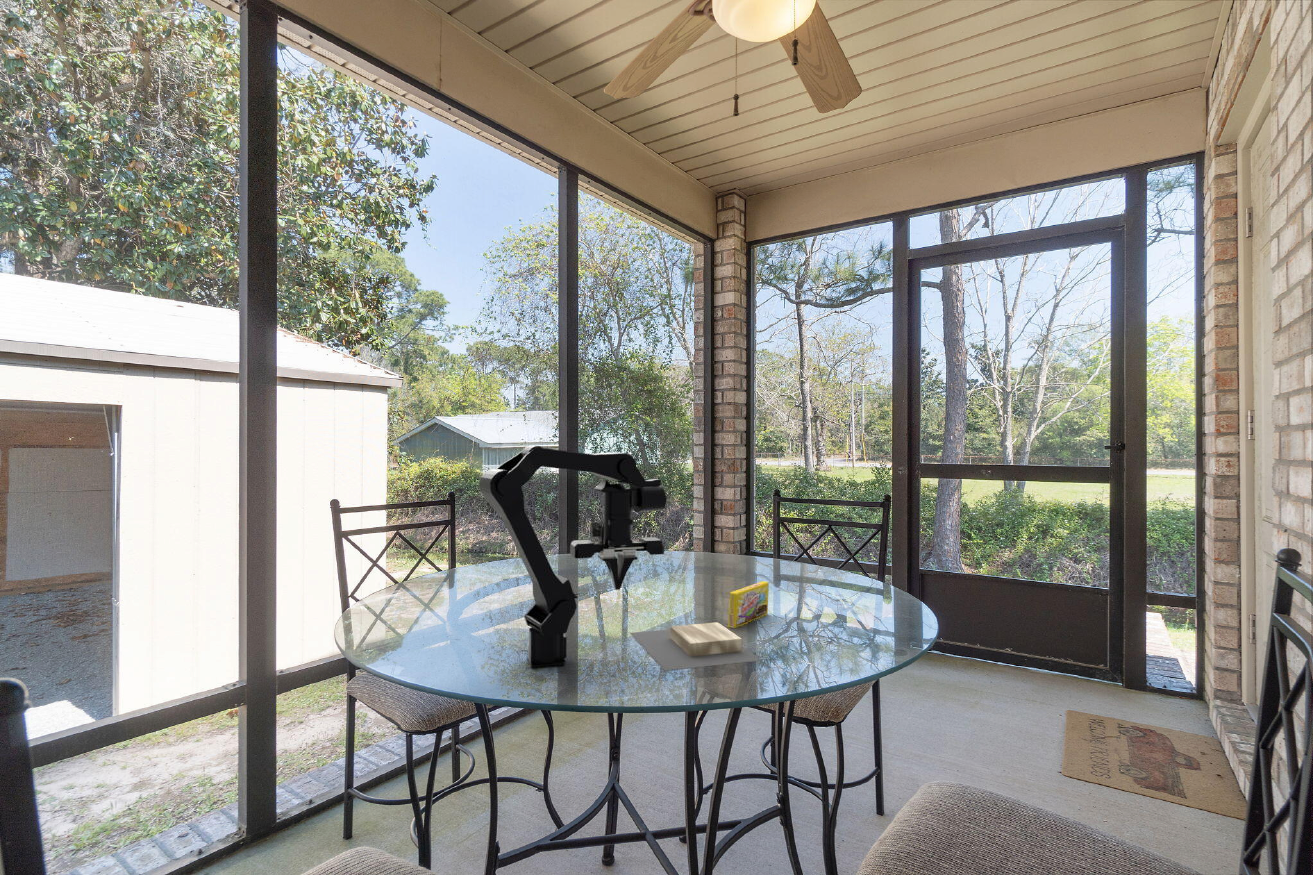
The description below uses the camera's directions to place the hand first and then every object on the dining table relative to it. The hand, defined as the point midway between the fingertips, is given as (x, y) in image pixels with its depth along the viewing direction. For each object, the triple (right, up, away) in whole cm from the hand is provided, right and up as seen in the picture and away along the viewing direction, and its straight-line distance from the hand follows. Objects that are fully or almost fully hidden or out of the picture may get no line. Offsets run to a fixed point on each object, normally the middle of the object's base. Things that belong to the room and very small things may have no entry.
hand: (617, 589), depth 131 cm
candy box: (+30, -13, +20) cm, 38 cm away
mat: (+15, -12, +1) cm, 20 cm away
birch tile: (+13, -11, 0) cm, 17 cm away
